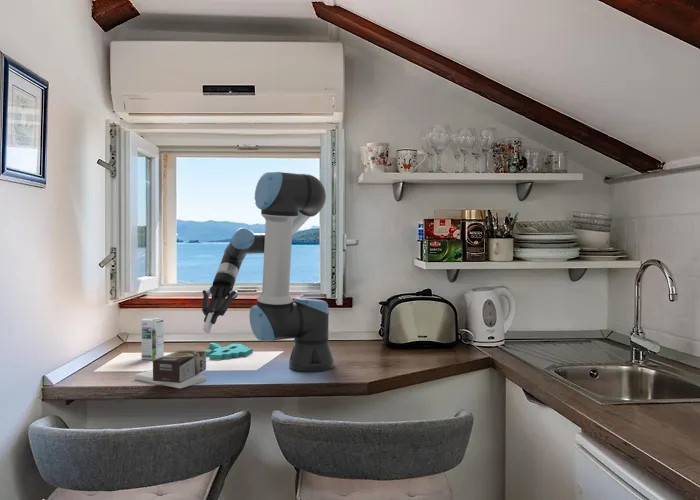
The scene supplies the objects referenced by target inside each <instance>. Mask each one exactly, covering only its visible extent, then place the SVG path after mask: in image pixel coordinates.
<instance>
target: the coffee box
mask: <svg viewBox="0 0 700 500" xmlns="http://www.w3.org/2000/svg"><path fill="white" fill-rule="evenodd" d="M152 370H153V381H162V382H176V383H180V382H182V381H184V380H186V379H188V378H190V377H192V376H194V375H196V374H198V375H199V374H201V373H202V372H204V371H206V370H207V356H206V350H193V349H178V350H176V351H174V352H172V353H169V354H166V355H164V356H163V357H161V358H158V359H155V360H152Z"/></svg>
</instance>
